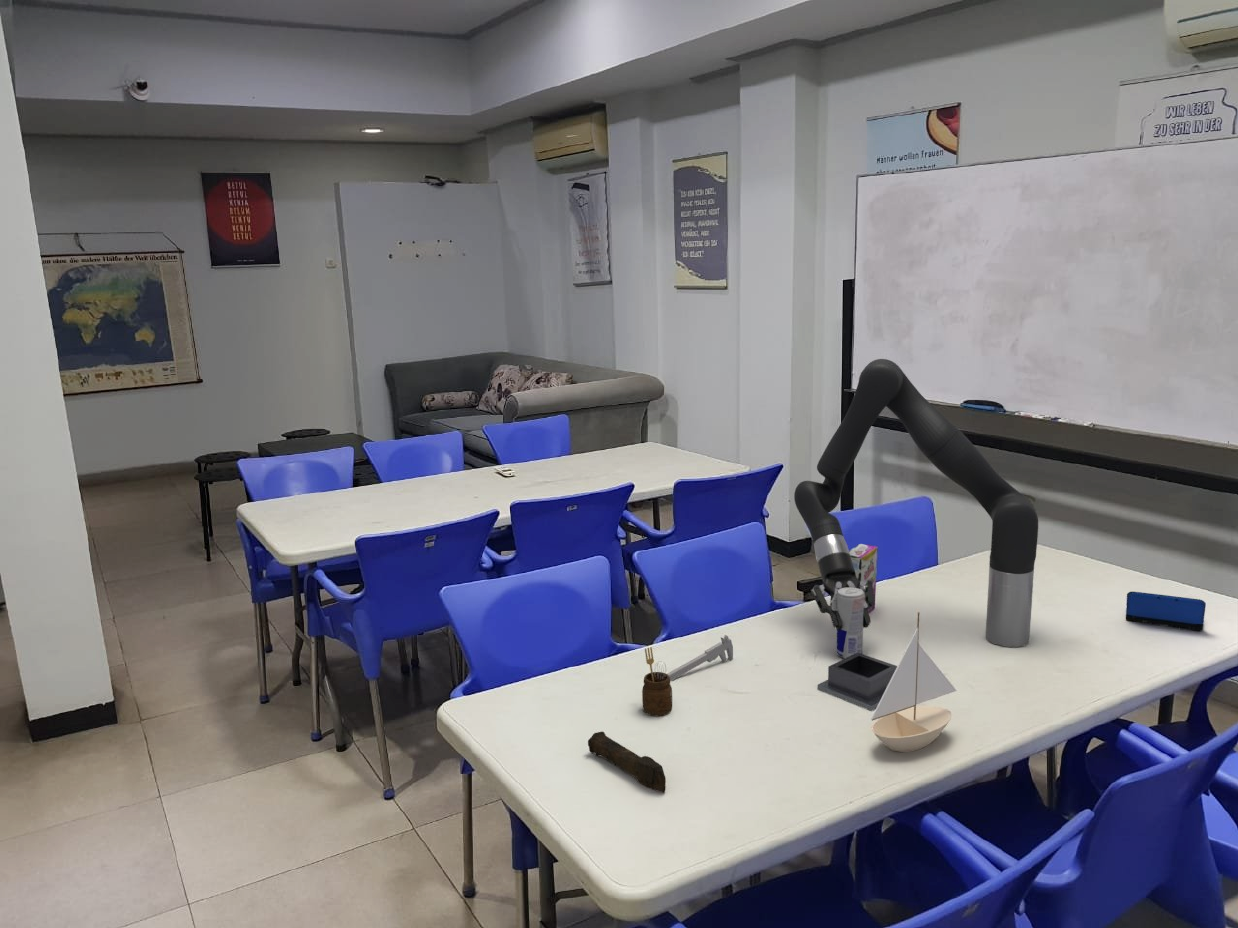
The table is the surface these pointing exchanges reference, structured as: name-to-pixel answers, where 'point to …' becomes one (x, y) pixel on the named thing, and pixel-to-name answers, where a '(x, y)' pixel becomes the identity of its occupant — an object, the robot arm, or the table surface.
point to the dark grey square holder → (859, 680)
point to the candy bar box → (865, 565)
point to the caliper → (706, 657)
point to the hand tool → (629, 761)
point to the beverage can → (850, 621)
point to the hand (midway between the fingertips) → (853, 627)
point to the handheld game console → (1165, 610)
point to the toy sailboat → (912, 702)
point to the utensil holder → (656, 690)
